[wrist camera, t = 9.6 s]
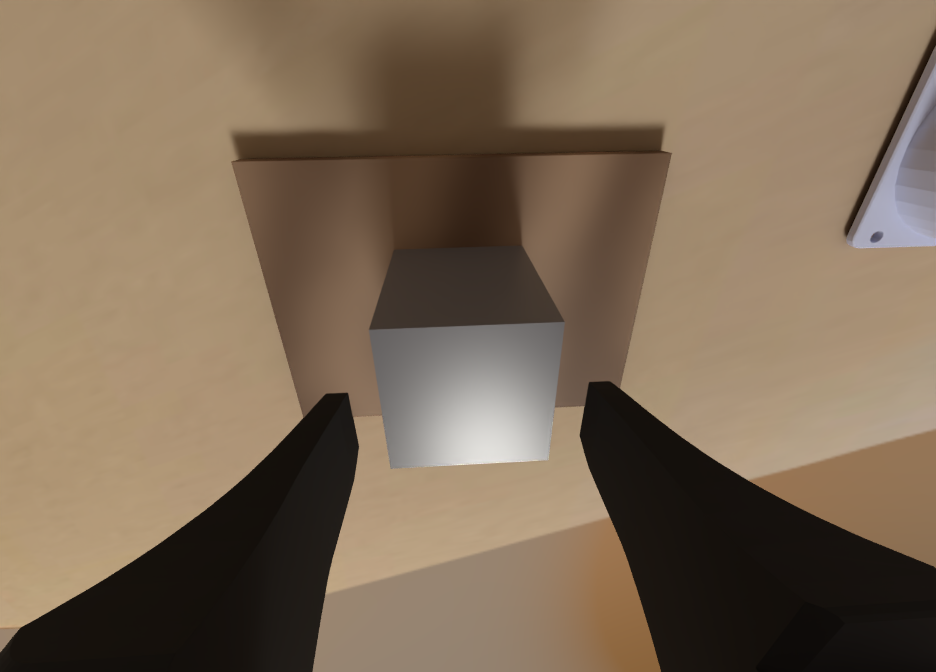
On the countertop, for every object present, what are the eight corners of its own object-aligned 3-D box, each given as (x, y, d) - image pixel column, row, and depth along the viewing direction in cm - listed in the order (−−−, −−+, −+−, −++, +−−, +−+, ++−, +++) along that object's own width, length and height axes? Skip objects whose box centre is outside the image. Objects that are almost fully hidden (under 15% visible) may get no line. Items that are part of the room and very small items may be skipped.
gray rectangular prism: (522, 245, 17) (564, 321, 11) (516, 352, 19) (548, 460, 13) (393, 249, 16) (368, 329, 11) (405, 357, 19) (390, 468, 13)
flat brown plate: (661, 150, 16) (763, 174, 11) (610, 394, 22) (661, 482, 17) (241, 159, 15) (141, 188, 10) (308, 408, 21) (267, 504, 16)
